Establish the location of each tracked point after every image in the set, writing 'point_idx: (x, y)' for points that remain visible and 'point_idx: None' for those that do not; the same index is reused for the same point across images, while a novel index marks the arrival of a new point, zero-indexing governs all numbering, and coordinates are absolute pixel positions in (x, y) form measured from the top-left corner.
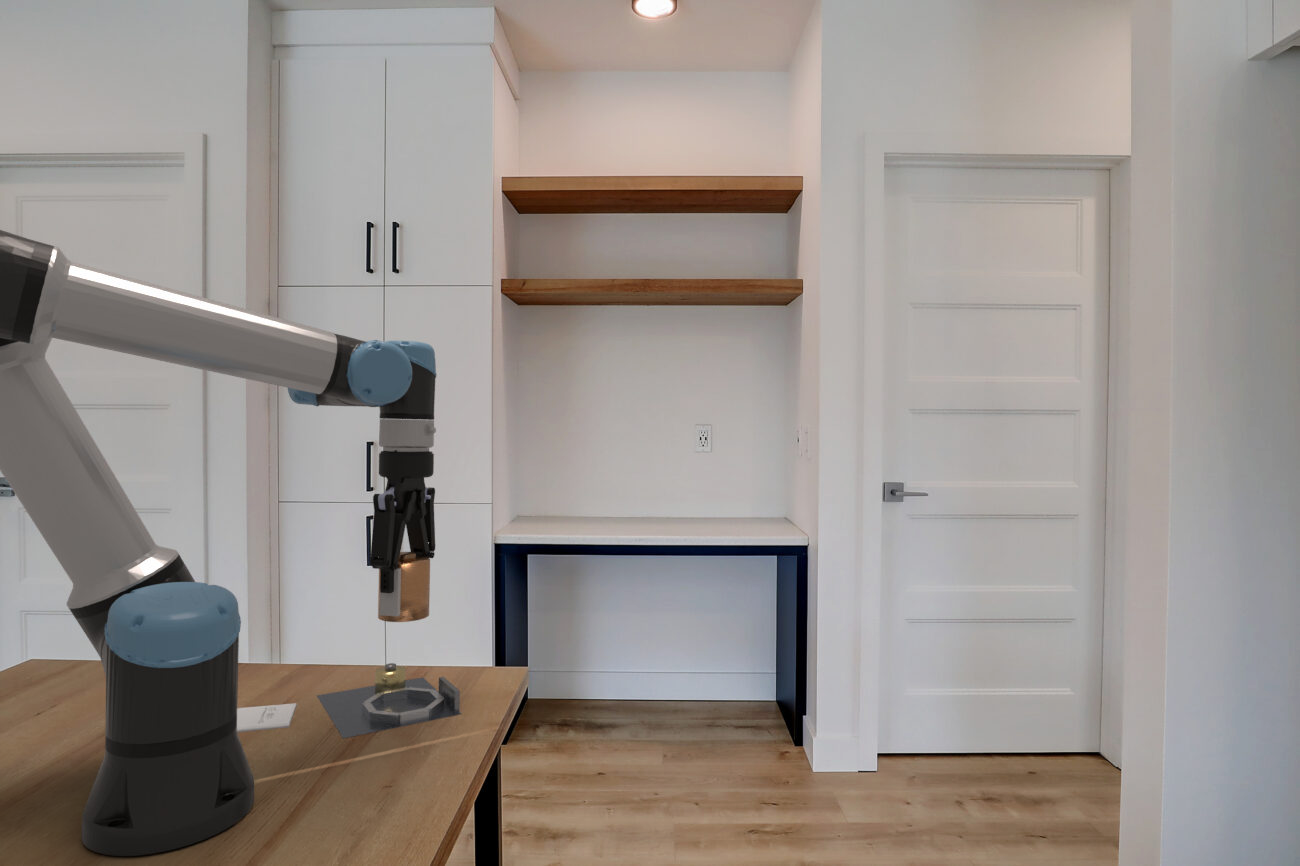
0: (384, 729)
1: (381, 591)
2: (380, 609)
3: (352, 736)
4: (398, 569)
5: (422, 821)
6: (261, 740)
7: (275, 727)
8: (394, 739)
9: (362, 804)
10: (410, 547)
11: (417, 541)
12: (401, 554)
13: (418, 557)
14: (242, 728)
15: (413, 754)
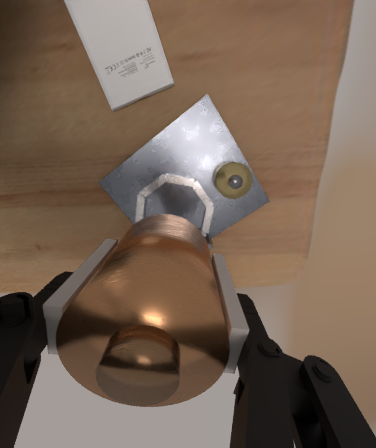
0: (124, 212)
1: (62, 275)
2: (101, 244)
3: (104, 189)
4: (49, 353)
5: (5, 281)
6: (85, 93)
7: (105, 95)
8: (115, 224)
9: (9, 240)
10: (249, 376)
11: (236, 437)
12: (111, 376)
13: (207, 371)
14: (89, 55)
15: (91, 247)
